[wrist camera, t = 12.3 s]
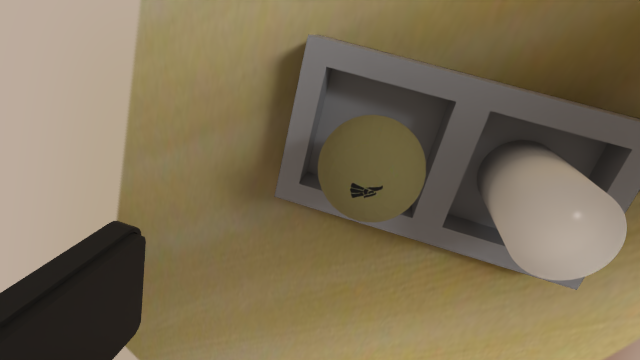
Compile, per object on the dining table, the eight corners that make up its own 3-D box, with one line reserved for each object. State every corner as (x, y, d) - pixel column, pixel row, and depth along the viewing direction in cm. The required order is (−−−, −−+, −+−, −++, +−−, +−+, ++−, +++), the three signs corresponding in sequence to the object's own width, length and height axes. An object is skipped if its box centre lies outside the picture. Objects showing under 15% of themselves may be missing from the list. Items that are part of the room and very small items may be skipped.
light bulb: (362, 185, 28) (342, 258, 19) (324, 119, 27) (284, 162, 18) (434, 152, 26) (450, 216, 17) (397, 79, 25) (394, 105, 16)
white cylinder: (576, 152, 24) (650, 203, 17) (539, 221, 26) (591, 293, 19) (495, 130, 25) (533, 170, 18) (465, 200, 27) (488, 261, 20)
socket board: (644, 120, 24) (676, 131, 21) (559, 264, 28) (576, 289, 25) (318, 34, 26) (308, 34, 23) (286, 181, 30) (274, 196, 27)
